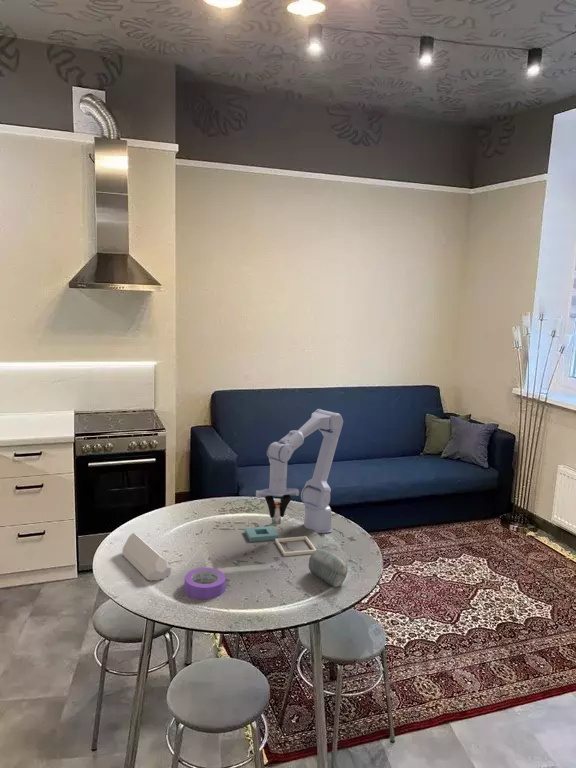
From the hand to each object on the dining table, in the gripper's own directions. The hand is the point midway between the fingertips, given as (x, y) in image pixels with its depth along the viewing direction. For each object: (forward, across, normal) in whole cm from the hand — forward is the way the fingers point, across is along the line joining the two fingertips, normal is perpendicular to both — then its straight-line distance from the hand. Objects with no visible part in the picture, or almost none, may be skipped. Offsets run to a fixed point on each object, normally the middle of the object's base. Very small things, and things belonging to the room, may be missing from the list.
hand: (276, 516), depth 198 cm
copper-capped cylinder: (+2, 0, 0) cm, 2 cm away
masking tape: (+11, -28, -25) cm, 39 cm away
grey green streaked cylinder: (+10, +10, -26) cm, 30 cm away
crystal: (+11, -43, -7) cm, 45 cm away
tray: (+10, +5, -6) cm, 13 cm away
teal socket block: (+10, -4, +4) cm, 12 cm away
